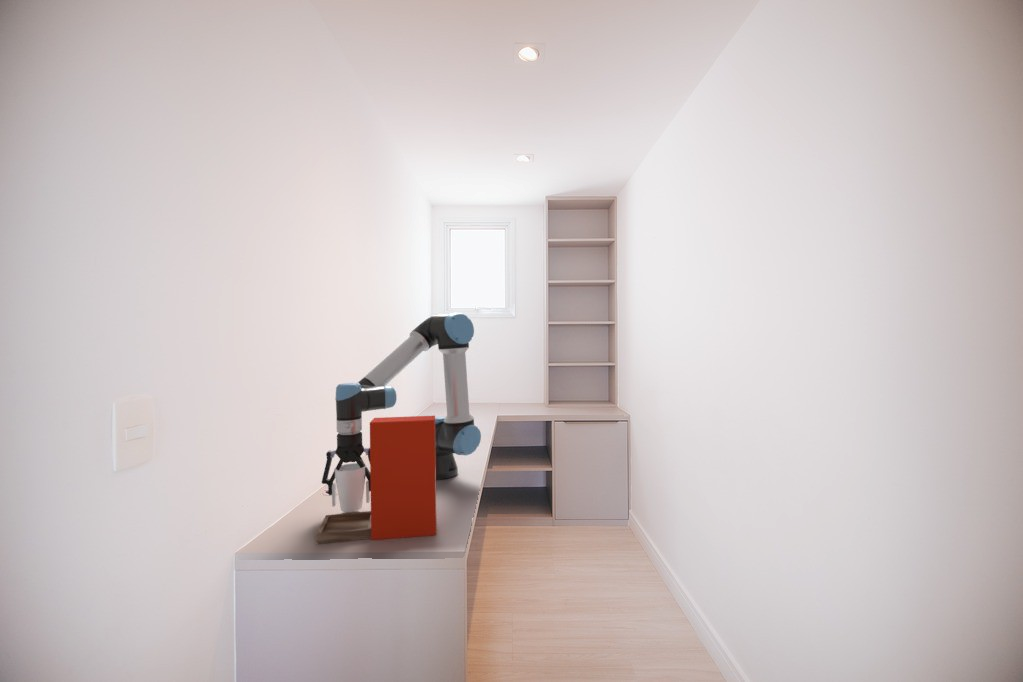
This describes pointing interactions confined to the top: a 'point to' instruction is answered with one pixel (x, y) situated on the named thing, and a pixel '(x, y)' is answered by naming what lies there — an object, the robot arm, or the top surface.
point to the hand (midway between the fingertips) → (351, 503)
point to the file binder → (403, 477)
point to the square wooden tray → (345, 527)
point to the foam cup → (350, 486)
